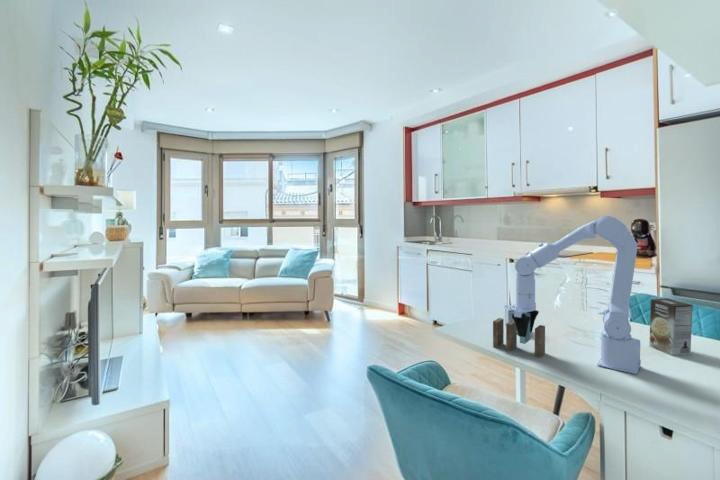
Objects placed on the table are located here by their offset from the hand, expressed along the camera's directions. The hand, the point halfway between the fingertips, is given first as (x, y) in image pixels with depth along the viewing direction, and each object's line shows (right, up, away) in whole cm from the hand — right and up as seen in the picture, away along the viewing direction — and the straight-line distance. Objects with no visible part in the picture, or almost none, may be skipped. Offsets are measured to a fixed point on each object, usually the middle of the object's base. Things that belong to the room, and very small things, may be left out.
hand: (525, 334), depth 122 cm
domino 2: (0, -2, 0) cm, 2 cm away
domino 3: (+3, -6, -3) cm, 7 cm away
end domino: (-6, -6, +6) cm, 11 cm away
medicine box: (+6, -4, +24) cm, 25 cm away
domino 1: (-3, -6, +3) cm, 7 cm away
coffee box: (+46, -5, -2) cm, 46 cm away
